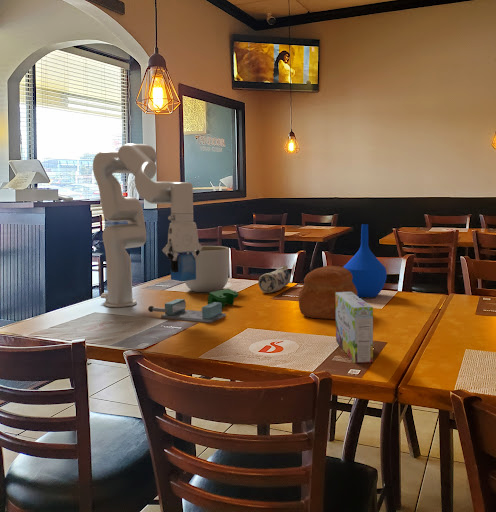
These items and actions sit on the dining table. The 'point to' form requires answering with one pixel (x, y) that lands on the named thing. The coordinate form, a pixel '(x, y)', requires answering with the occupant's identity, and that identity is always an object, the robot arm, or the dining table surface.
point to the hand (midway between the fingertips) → (183, 270)
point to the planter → (210, 269)
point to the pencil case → (274, 280)
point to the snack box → (354, 326)
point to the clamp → (223, 297)
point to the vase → (366, 269)
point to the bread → (324, 291)
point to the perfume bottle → (184, 268)
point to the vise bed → (200, 314)
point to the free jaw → (171, 307)
